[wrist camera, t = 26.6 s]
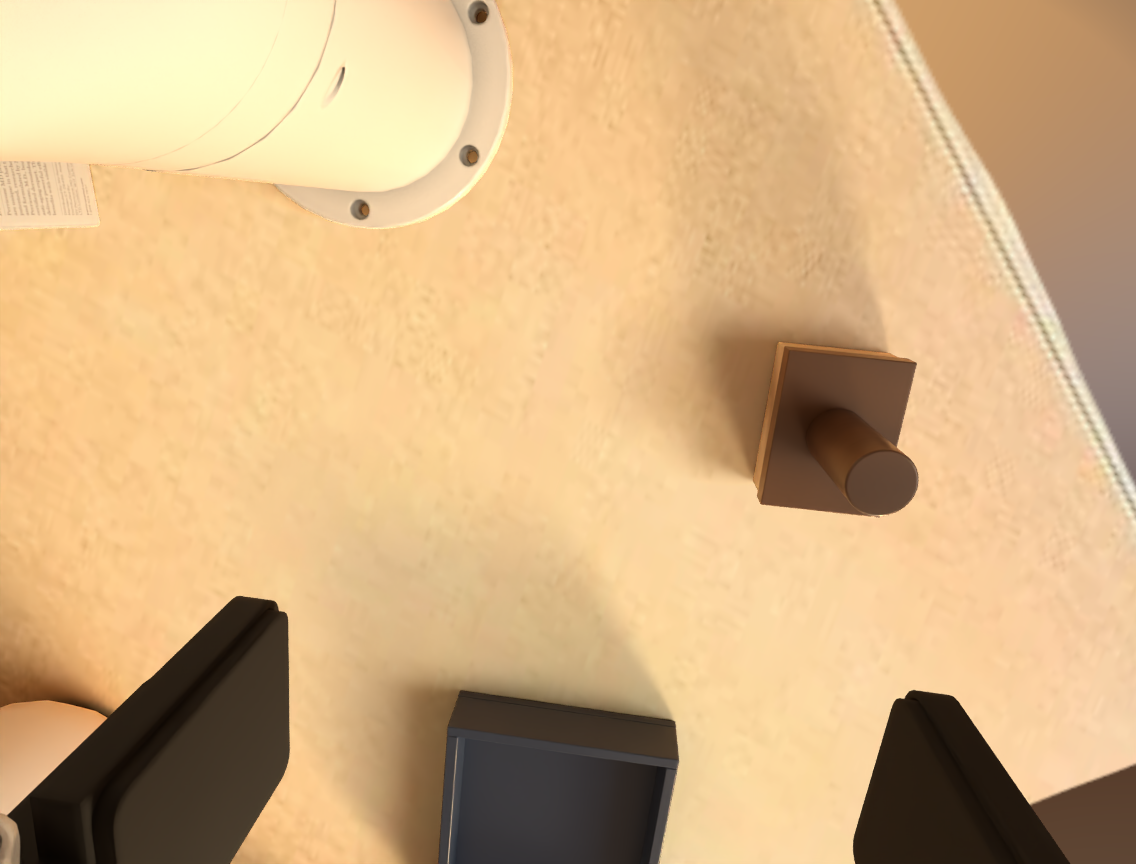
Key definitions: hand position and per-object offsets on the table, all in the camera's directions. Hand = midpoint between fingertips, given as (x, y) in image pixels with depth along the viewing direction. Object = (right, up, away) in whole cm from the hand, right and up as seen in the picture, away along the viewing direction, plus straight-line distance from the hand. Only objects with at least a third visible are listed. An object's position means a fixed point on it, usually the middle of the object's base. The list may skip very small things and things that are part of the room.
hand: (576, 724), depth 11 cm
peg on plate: (+12, +5, +23) cm, 26 cm away
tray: (-1, -19, +31) cm, 36 cm away
